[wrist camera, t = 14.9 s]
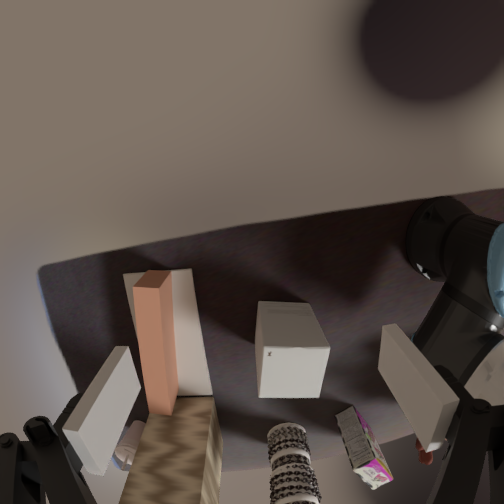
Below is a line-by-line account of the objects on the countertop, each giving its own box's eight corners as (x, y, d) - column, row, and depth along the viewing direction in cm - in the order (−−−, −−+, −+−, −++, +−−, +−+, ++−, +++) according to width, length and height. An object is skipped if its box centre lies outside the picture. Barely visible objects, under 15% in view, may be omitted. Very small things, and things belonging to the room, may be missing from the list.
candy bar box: (372, 428, 63) (394, 479, 47) (353, 439, 63) (372, 491, 48) (353, 403, 60) (376, 458, 45) (333, 414, 61) (351, 471, 45)
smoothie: (147, 415, 61) (130, 461, 47) (158, 435, 62) (144, 481, 49) (122, 416, 61) (102, 460, 47) (133, 435, 62) (117, 479, 49)
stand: (215, 394, 59) (200, 525, 30) (225, 443, 63) (218, 559, 34) (152, 395, 59) (110, 514, 30) (169, 443, 63) (143, 552, 34)
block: (171, 271, 52) (159, 288, 44) (178, 388, 58) (171, 415, 50) (148, 269, 52) (132, 286, 44) (159, 386, 58) (149, 413, 50)
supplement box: (253, 346, 56) (255, 399, 42) (257, 299, 54) (261, 345, 40) (304, 347, 57) (319, 400, 42) (311, 302, 54) (331, 347, 40)
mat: (191, 268, 53) (191, 269, 52) (212, 393, 59) (212, 394, 58) (124, 273, 53) (122, 274, 52) (154, 393, 59) (153, 395, 58)
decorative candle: (301, 416, 61) (321, 513, 37) (311, 441, 63) (331, 531, 39) (259, 427, 61) (264, 525, 37) (272, 452, 64) (280, 542, 39)
